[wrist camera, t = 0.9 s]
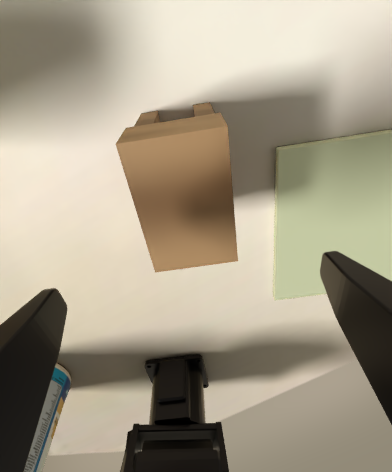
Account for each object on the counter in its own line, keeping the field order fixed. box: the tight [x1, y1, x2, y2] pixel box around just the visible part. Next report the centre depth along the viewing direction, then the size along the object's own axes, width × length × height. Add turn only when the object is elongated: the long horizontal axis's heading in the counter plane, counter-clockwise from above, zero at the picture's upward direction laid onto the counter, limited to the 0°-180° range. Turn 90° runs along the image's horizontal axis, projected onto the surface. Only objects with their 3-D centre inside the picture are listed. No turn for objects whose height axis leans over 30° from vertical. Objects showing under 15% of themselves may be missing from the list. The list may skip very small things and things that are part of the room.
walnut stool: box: [116, 102, 238, 272], centre depth 16 cm, size 7×4×6 cm, turn 8°
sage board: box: [273, 129, 392, 300], centre depth 22 cm, size 14×14×1 cm
